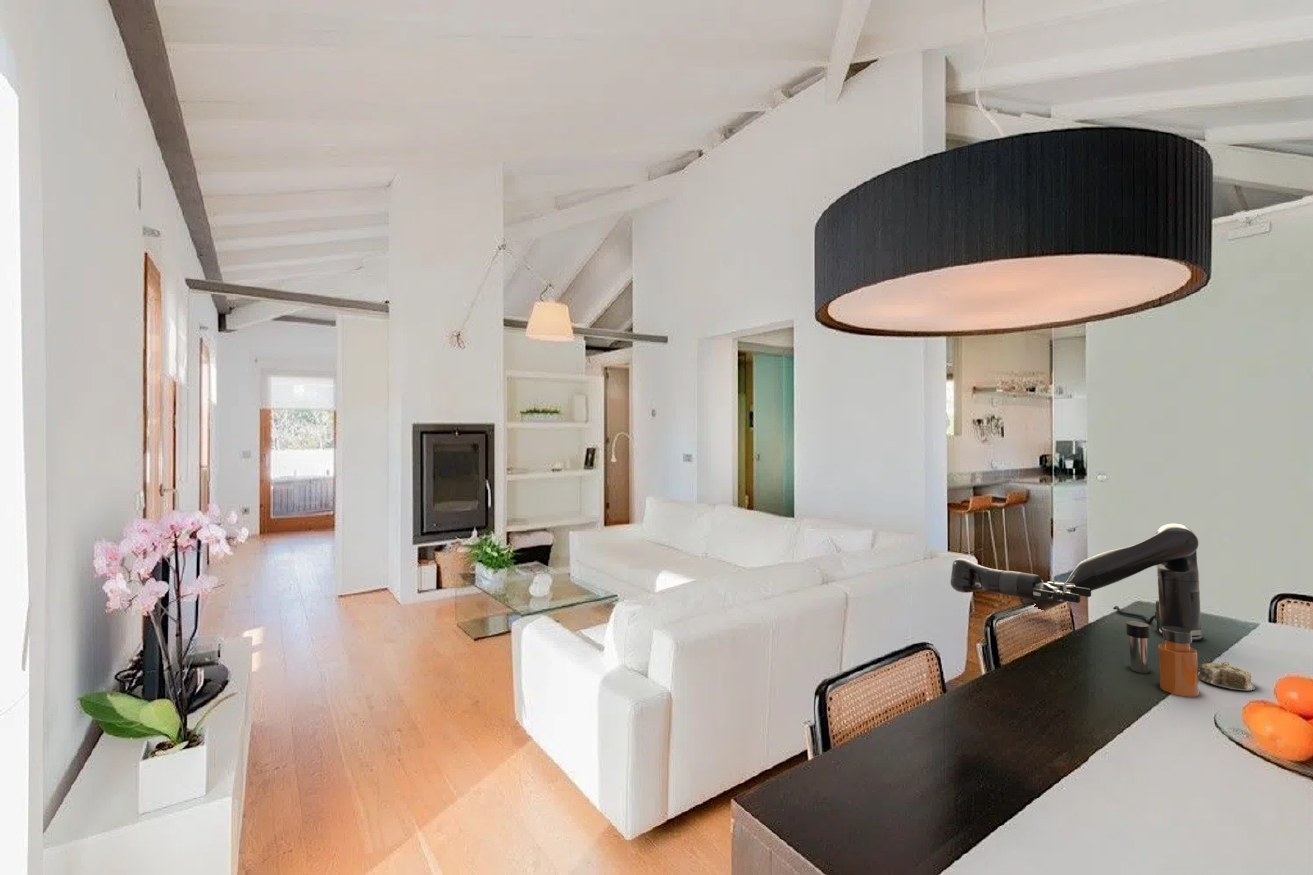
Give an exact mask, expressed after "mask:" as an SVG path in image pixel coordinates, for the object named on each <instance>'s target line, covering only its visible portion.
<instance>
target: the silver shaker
mask: <svg viewBox="0 0 1313 875" xmlns="http://www.w3.org/2000/svg"><path fill="white" fill-rule="evenodd" d="M1125 627H1126V635H1127V636H1128V640H1129V642H1128V643H1129V662H1130V663H1129V664H1130V666H1129V667H1130V670H1131V671H1132V672H1136V673H1141V674H1148V673H1150V672H1149V670H1150V669H1149V668H1150V666H1149V646H1148V639H1149V638H1150V637H1151V636H1150V635H1151V632H1150V624H1149V623H1147V622H1146V623H1145V622H1142V621H1141V622H1140V621H1137V620H1136V621H1135V620H1134V621H1133V620H1132V621H1131V620H1129V621H1126V622H1125Z"/></svg>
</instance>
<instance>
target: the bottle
mask: <svg viewBox="0 0 1313 875" xmlns="http://www.w3.org/2000/svg"><path fill="white" fill-rule="evenodd" d="M1161 635H1162V636H1161V637H1162V639H1163V640H1164V643H1159V644H1158V646H1157V647H1158V667H1159V668H1158V669H1159V687H1160V689H1161V690H1162V691H1164V692H1167V693H1169V694H1172V695H1175V696H1180V697H1189V698H1193V697H1194V698H1195V697H1199V695H1200V689H1199V678H1198V675H1199V667H1198V666H1199V664H1198V651H1197V650H1196V648H1193V647H1191V644H1192V643H1193V641H1192V632H1191V631H1190V630H1188V629H1185V628H1181V627H1175V626H1164V627H1162V634H1161Z"/></svg>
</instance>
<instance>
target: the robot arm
mask: <svg viewBox="0 0 1313 875" xmlns="http://www.w3.org/2000/svg"><path fill="white" fill-rule="evenodd" d="M1199 545H1200V544H1199V539H1198V537H1197V534H1195V533H1194V532H1193V530H1192V529H1191V528H1190V527H1188V526H1186V525H1183V524H1180V523H1166V524H1164V525H1162V526H1160V527H1159V528H1158V529H1157V530H1156V532H1155V534H1154V535H1153V536H1150V537H1149V538H1147V539H1145V540H1142V541H1141V542H1138V543H1136V544H1133V545H1130V546H1125V547H1120V548H1116V549H1111V550H1108V551H1103V552H1101V553H1098V554H1095V555H1093V556H1091V557H1088V558H1085V559H1083V560H1082V561H1080V562H1079V563H1078V564H1077V565H1076V566H1075V567H1074V569H1073V570H1072V572H1071V573H1070V574H1069V577H1068V578H1067V580H1066V581H1065V582H1063V581H1058V580H1057V581H1056V580H1050V581H1047V582H1044V580H1043V579H1042V578H1041V576H1040V575H1038V574H1034V573H1027V572H1021V571H1014V570H1001V569H995V568H991V567H986V566H983V565H980V564H978V563H976V562H974V561H972V560H969V559H966V558H957V559H955V560H954V561H952V564H951V565H952V566H951V575H950V586H951V588H952V589H953V590H954V591H955V592H958V593H963V594H967V593H968V594H969V593H974V592H982V593H985V594H991V595H1004V596H1005V595H1006V596H1008V597H1012V598H1017V599H1019V602H1020V603H1021V605H1022V606H1023V605H1025V604H1030V605H1034V604H1032V603H1034V602H1037V603H1035V604H1036V605H1035V606H1034V607H1038V609H1041V610H1044V612H1047V611H1048V610H1049V611H1050V610H1051V609H1054V608H1056V607H1058V606H1061V605H1062V604H1065V603H1066V602H1070V603H1076V604H1079V603H1081V597H1085V598H1090V597H1092V592H1093V591H1096V590H1098V589H1102V588H1104V587H1107V586H1110V585H1112V584H1116V583H1119V582H1120V581H1122V580H1125V579H1128V578H1130V577H1132V576H1134V575H1136V574H1139V573H1141V572H1143V571H1145V570H1147V569H1149V568H1152V567H1155V566H1156V573H1157V574H1156V575H1157V594H1158V597H1157V598H1158V599H1156V600H1155V611H1154V614H1153V615H1151V617H1150V618H1148V617H1147V616H1145V615H1142V614H1138V613H1133V612H1127V611H1123V610H1121V609H1120V607H1119V606H1118V605H1115V606H1113V608H1112V609H1113V610H1116V611H1117V612H1118V611H1119V612H1118V613H1120V614H1122V615H1124V616H1129V617H1130V616H1131V617H1135V618H1140V619H1143V620H1145V622H1146V624H1151V623H1153V621H1154V620H1155V622H1156V631H1157V632H1158V633H1159V634H1160V635H1162V627H1164V626H1175V627H1181V628H1185V629H1188V630H1190V631H1191V632H1192V642H1199V641H1201V640H1202V639H1203V635H1202V617H1201V615H1202V614H1201V596H1200V595H1201V594H1200V572H1199V566H1198V552H1197V551H1198V549H1199ZM1040 600H1041V601H1040ZM1046 610H1047V611H1046Z"/></svg>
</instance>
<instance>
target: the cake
mask: <svg viewBox="0 0 1313 875" xmlns="http://www.w3.org/2000/svg"><path fill="white" fill-rule="evenodd" d="M1198 679H1200V680H1201V681H1203V682H1205V683H1208V684H1211V685H1214V686H1218V687H1222V688H1227V689H1231V690H1238V691H1254V690H1255V689H1256V687H1255V685H1253V683H1252V674H1251V672H1250V671H1248V670H1245V669H1243V668H1241V667H1238V666H1234V665H1230V663H1229V662H1228V661H1223V662H1220V663H1217V662H1207V663H1206V662H1205V663H1202V664H1201V665H1200V667H1199V670H1198Z"/></svg>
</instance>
